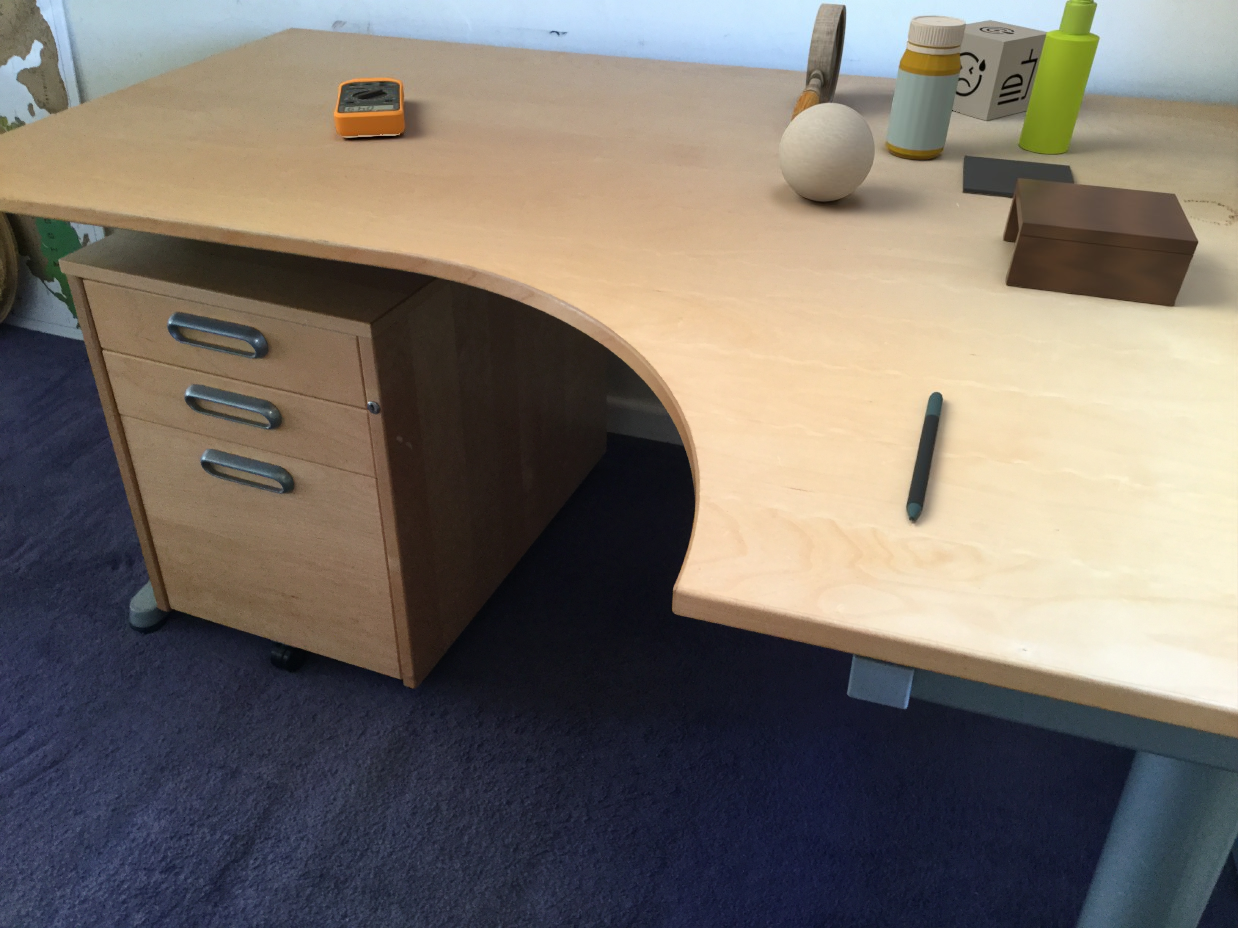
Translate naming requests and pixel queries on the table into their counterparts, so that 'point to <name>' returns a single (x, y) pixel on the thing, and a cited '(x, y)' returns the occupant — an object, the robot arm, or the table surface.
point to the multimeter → (370, 107)
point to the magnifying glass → (823, 57)
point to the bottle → (925, 87)
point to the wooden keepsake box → (1098, 241)
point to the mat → (1007, 174)
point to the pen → (924, 457)
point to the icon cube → (997, 69)
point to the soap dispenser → (1060, 81)
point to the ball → (826, 152)
